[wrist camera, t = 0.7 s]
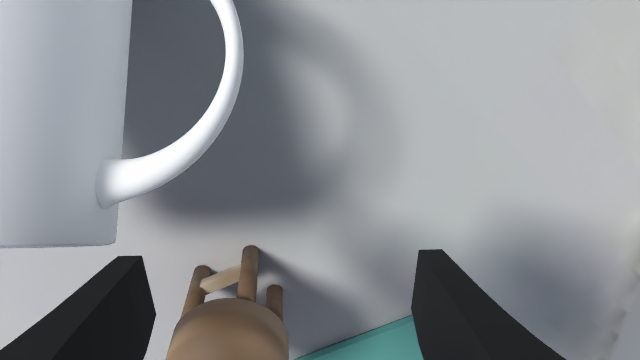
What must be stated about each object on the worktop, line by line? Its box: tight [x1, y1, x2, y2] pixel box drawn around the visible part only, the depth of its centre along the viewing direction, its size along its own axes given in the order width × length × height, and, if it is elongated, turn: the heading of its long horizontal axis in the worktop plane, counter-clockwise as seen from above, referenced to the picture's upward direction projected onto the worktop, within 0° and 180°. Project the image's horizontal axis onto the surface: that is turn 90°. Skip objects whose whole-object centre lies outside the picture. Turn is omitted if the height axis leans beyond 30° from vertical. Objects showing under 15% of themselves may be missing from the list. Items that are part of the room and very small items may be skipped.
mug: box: [0, 0, 244, 248], centre depth 12 cm, size 12×8×12 cm
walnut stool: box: [166, 245, 289, 360], centre depth 22 cm, size 5×5×7 cm
